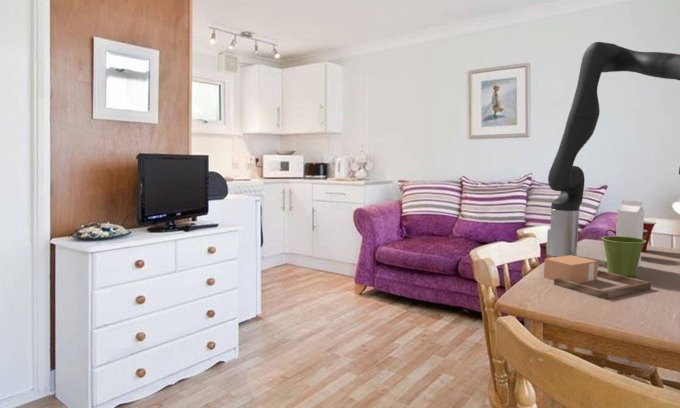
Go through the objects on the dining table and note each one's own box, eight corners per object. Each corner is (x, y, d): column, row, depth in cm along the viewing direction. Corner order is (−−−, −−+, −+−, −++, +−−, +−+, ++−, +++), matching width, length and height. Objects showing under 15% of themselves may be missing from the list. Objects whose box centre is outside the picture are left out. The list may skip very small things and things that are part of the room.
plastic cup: (661, 252, 176) (663, 221, 174) (639, 253, 173) (641, 222, 171) (635, 246, 186) (637, 217, 185) (614, 248, 183) (616, 218, 182)
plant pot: (637, 271, 146) (639, 237, 145) (648, 281, 135) (651, 243, 134) (595, 268, 150) (597, 234, 149) (603, 277, 139) (606, 241, 137)
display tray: (553, 284, 131) (554, 278, 131) (598, 275, 141) (599, 270, 140) (604, 299, 118) (605, 292, 118) (650, 288, 127) (651, 282, 127)
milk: (633, 269, 149) (638, 202, 147) (613, 265, 154) (617, 200, 152) (640, 266, 153) (645, 201, 150) (620, 262, 158) (625, 199, 155)
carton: (543, 278, 139) (544, 258, 138) (569, 273, 144) (570, 255, 144) (570, 285, 131) (571, 265, 130) (597, 280, 136) (598, 260, 136)
